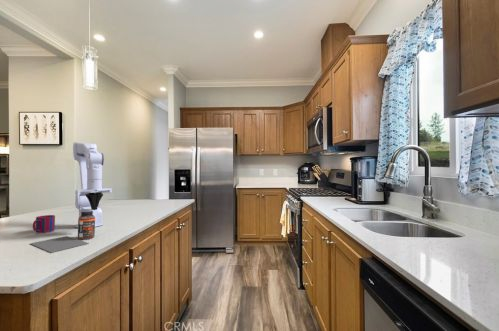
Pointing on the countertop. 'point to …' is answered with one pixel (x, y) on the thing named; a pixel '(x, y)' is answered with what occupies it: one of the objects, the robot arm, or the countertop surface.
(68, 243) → the mat
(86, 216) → the supplement bottle
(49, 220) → the mug
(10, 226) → the countertop surface
